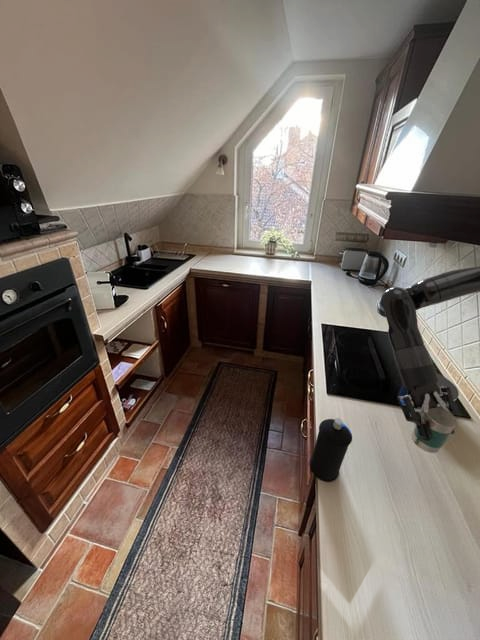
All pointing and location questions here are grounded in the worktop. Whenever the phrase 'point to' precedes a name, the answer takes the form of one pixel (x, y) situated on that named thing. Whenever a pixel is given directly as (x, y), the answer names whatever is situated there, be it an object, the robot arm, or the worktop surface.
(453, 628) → the worktop surface
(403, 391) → the pot
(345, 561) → the worktop surface
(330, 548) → the worktop surface
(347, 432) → the aerosol can
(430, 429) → the tin can
